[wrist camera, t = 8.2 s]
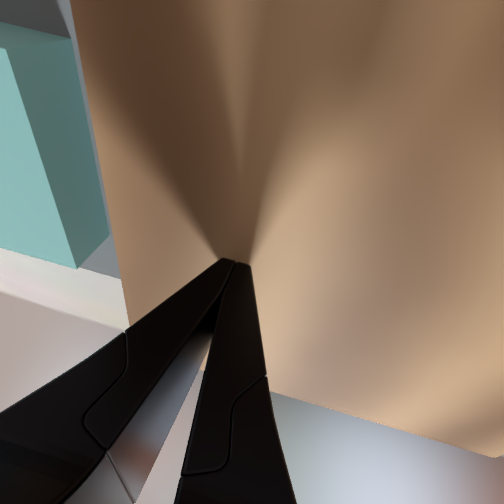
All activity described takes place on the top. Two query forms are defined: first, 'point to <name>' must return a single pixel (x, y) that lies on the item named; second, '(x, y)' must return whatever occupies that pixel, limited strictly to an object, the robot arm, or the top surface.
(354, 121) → the oak deck
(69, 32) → the slate mat
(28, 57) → the teal tile
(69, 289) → the top surface
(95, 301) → the top surface
